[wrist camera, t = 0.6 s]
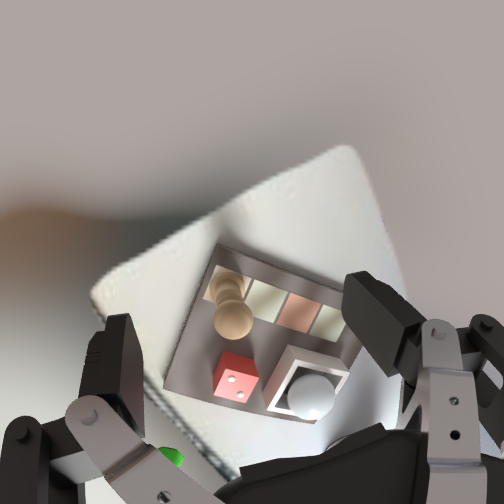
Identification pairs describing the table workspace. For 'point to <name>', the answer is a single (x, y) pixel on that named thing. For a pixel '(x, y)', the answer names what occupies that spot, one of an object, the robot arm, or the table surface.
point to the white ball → (311, 397)
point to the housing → (287, 367)
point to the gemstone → (172, 455)
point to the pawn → (230, 306)
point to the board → (259, 330)
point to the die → (234, 377)
